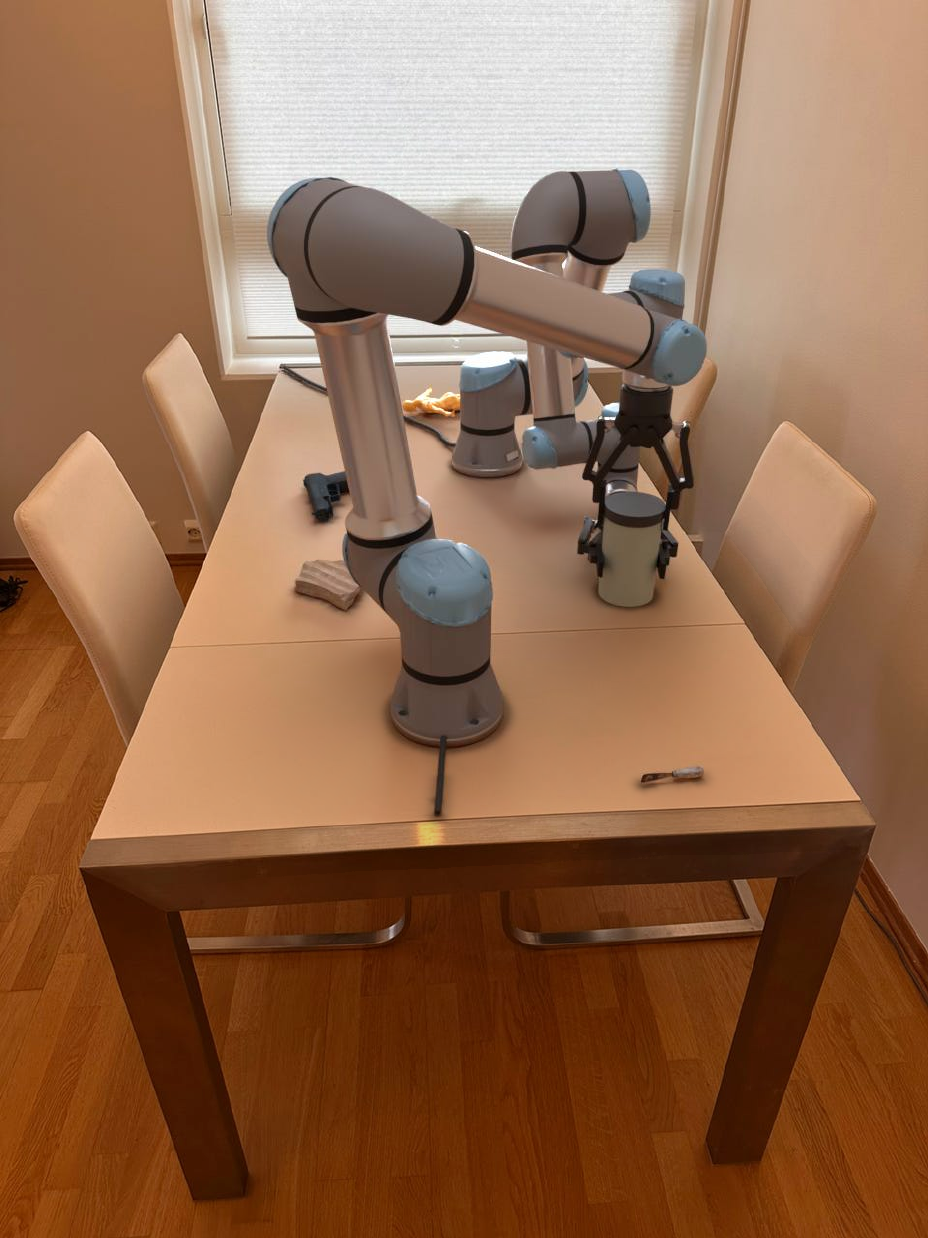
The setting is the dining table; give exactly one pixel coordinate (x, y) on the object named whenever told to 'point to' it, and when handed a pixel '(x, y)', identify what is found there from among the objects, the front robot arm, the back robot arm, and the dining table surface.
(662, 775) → the putty knife
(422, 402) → the human figure
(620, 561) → the jar
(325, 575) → the stone
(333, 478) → the handgun
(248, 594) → the dining table surface
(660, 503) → the lid
